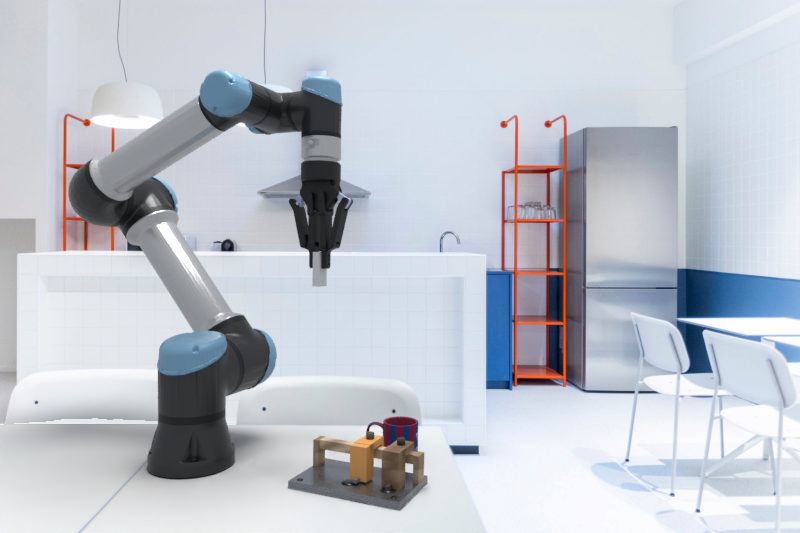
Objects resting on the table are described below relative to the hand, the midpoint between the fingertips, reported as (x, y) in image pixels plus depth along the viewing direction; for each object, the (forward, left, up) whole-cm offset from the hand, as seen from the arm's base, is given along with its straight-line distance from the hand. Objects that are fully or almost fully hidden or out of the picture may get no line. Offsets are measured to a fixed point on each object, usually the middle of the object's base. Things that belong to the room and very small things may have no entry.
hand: (319, 286), depth 115 cm
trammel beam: (+14, -9, -31) cm, 35 cm away
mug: (+13, +6, -33) cm, 36 cm away
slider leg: (+15, -9, -31) cm, 35 cm away
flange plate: (+14, -10, -32) cm, 37 cm away
